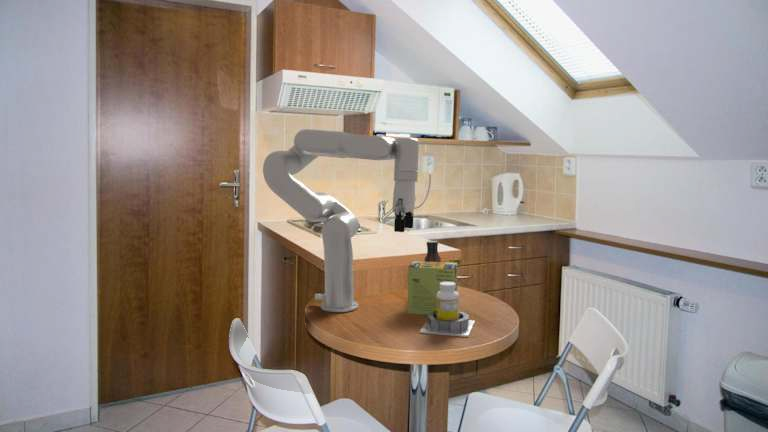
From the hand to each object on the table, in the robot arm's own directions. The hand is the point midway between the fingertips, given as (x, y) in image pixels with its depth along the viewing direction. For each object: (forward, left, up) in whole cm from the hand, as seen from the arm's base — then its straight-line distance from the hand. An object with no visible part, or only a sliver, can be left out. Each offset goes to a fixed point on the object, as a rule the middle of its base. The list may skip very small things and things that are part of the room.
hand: (403, 229), depth 177 cm
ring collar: (+17, -13, -27) cm, 34 cm away
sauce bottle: (+5, +23, -27) cm, 36 cm away
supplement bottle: (+17, -13, -27) cm, 34 cm away
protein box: (+9, +3, -27) cm, 29 cm away
